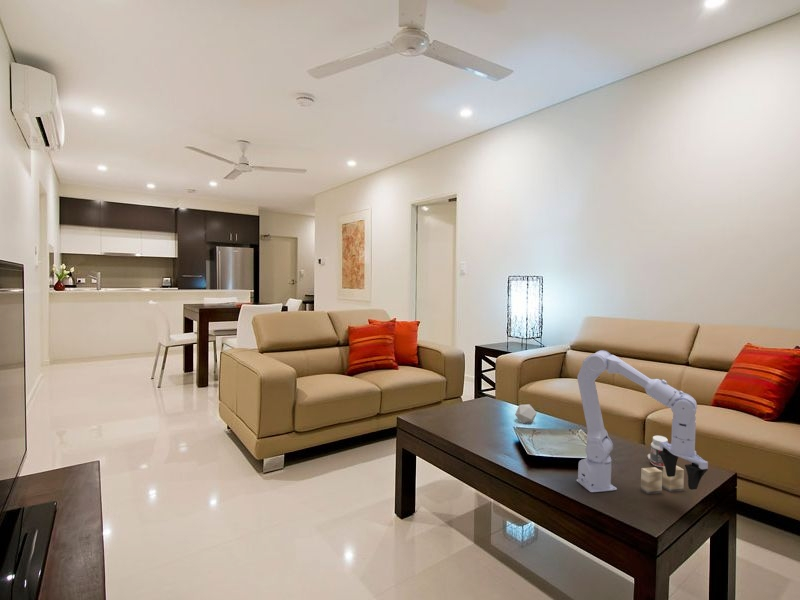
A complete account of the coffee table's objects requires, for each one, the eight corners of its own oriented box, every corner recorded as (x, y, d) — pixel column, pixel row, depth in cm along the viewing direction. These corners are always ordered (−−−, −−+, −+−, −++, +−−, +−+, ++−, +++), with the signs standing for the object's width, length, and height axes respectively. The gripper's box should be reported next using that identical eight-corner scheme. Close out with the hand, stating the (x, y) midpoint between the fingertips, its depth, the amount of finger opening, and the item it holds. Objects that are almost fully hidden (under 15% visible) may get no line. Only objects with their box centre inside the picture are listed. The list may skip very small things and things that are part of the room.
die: (535, 428, 189) (542, 408, 193) (518, 418, 189) (525, 398, 193) (526, 428, 197) (532, 409, 201) (509, 419, 197) (517, 400, 201)
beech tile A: (647, 494, 130) (648, 472, 130) (640, 489, 133) (641, 468, 133) (661, 492, 131) (662, 471, 130) (654, 488, 134) (655, 467, 133)
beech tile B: (669, 492, 131) (670, 470, 131) (662, 487, 134) (663, 466, 134) (683, 490, 132) (684, 469, 132) (675, 486, 135) (676, 465, 135)
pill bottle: (659, 469, 147) (660, 443, 146) (646, 461, 153) (647, 436, 151) (672, 466, 149) (673, 440, 147) (658, 458, 154) (659, 433, 153)
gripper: (718, 445, 113) (716, 493, 114) (674, 427, 128) (672, 469, 128) (696, 447, 112) (694, 495, 113) (654, 428, 127) (653, 471, 127)
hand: (681, 482), depth 121 cm, fingers open, 7 cm apart
